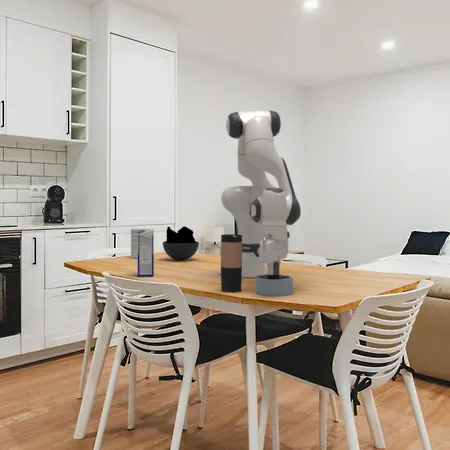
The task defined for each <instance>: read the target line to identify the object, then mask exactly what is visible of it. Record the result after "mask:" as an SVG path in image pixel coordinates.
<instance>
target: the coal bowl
mask: <svg viewBox="0 0 450 450" xmlns="http://www.w3.org/2000/svg"><path fill="white" fill-rule="evenodd" d="M199 247H200V242H198V240H196V239H195V237H194V231H193V230H192V229H190V228H188V227H187V226H185V225H184V226H182V227H181V228H180V229H178V230H177V232H176V231H175V230H173V229H171V227H170V226H167V228H166V240H165V241H163V242H162V248H163V250H164V252H165V254H166V255H167V256H168V257H170V259H173V260H175V261H180V260H181V261H186V260H189V259H191V258H192V257H193V256H195V255H196V253H197V252H198V250H199Z"/></svg>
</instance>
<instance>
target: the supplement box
mask: <svg viewBox="0 0 450 450" xmlns="http://www.w3.org/2000/svg"><path fill="white" fill-rule="evenodd" d="M141 230H145V231H149V230H154V229H153V228H131V229H130V259H135V258H137V259H136V260H138V234H139V233H138V231H141Z"/></svg>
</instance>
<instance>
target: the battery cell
mask: <svg viewBox="0 0 450 450" xmlns="http://www.w3.org/2000/svg"><path fill="white" fill-rule="evenodd" d="M280 266H281V263H280V255H279V256H278V260H277V261H274V265H273V269H274V274H273V275H269V274H268V273H267V275H268V279H279V275H280V269H281V268H280Z"/></svg>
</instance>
